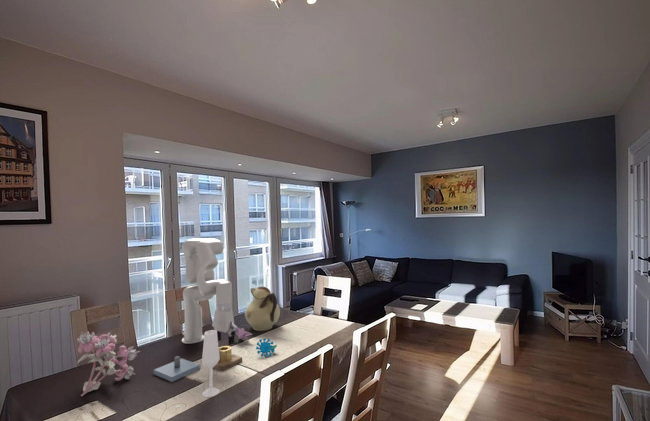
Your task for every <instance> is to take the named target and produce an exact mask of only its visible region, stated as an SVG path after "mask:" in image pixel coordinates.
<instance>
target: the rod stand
mask: <svg viewBox="0 0 650 421" xmlns="http://www.w3.org/2000/svg"><path fill="white" fill-rule="evenodd" d="M242 362H243V356H240V355H236V354H233V353H231V360H229V361H226V362H218V363H217V364H216V365H215V366H214V367H213V368H212V369H216V370H219V371H222V372H224V371H226V370H228V369H230V368H232V367H234V366H235V365H238V364H240V363H242Z"/></svg>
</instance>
